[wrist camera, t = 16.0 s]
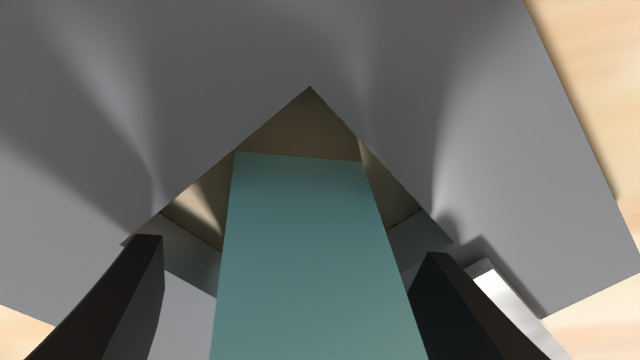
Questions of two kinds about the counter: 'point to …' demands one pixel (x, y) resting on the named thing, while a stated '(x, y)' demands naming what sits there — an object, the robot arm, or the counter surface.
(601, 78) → the counter surface
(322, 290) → the plug
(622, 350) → the counter surface
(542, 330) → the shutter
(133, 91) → the socket plate
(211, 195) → the counter surface
